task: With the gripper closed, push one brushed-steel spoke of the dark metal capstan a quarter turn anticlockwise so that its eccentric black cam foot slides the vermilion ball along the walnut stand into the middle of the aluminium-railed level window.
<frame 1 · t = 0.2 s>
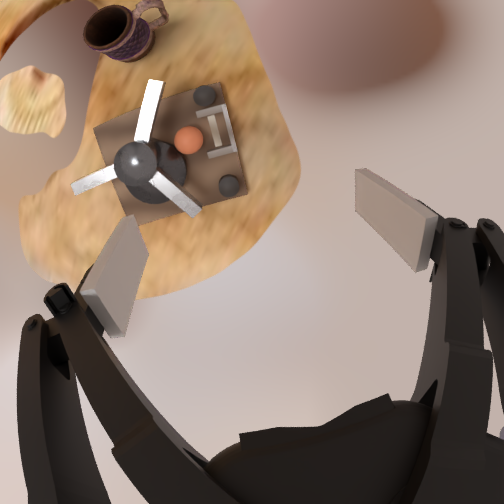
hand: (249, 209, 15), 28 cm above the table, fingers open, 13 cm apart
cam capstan: (128, 162, 32), point 6 cm above the table, hinge at 0.0°
mug: (143, 38, 27), on the table
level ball: (188, 140, 34), point 4 cm above the table, slide at 0.0 cm
walnut stand: (170, 156, 38), on the table
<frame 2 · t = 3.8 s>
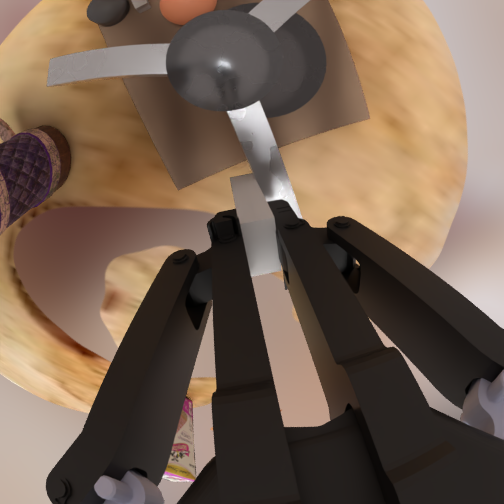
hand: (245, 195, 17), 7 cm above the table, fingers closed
candy bar box: (166, 389, 41), on the table
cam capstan: (235, 97, 15), point 6 cm above the table, hinge at 0.2°, touching gripper
mug: (39, 147, 18), on the table
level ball: (188, 1, 12), point 4 cm above the table, slide at 0.0 cm
walnut stand: (231, 42, 17), on the table
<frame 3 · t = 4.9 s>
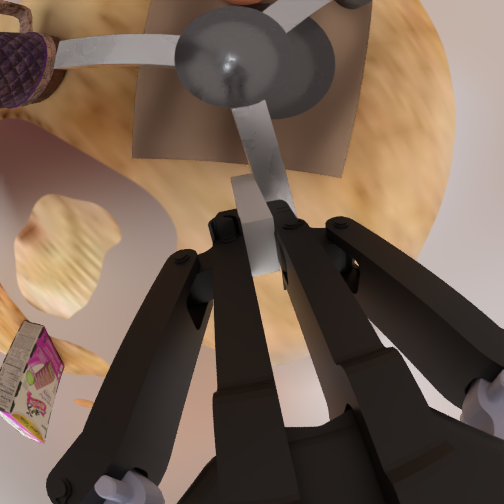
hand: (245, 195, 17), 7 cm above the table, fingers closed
candy bar box: (45, 343, 33), on the table
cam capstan: (241, 95, 15), point 6 cm above the table, hinge at 24.9°, touching gripper
mug: (43, 55, 14), on the table
walnut stand: (256, 49, 17), on the table
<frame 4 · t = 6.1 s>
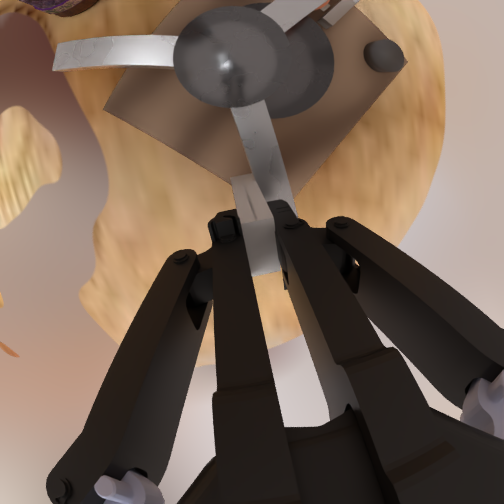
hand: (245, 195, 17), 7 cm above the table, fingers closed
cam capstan: (240, 95, 15), point 6 cm above the table, hinge at 54.3°, touching gripper
walnut stand: (264, 64, 18), on the table
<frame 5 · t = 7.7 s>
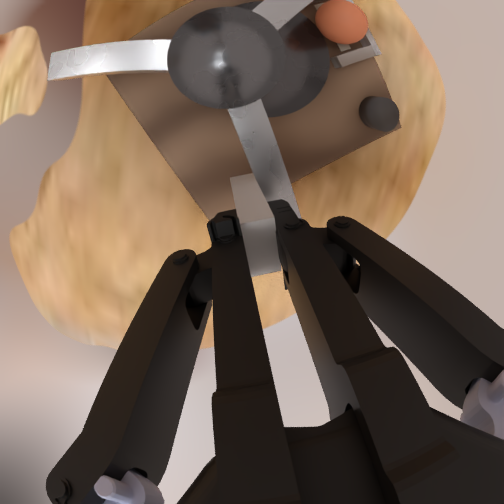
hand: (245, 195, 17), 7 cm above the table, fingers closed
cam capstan: (236, 96, 15), point 6 cm above the table, hinge at 80.7°, touching gripper
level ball: (341, 21, 13), point 4 cm above the table, slide at 3.5 cm
walnut stand: (261, 79, 19), on the table
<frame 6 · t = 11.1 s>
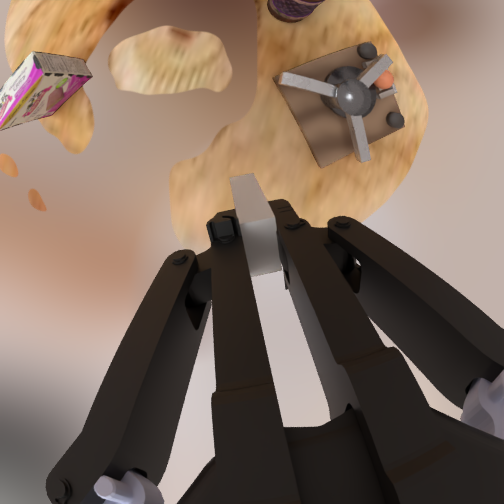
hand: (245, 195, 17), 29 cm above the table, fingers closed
candy bar box: (67, 87, 32), on the table
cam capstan: (346, 109, 36), point 6 cm above the table, hinge at 80.7°
mug: (294, 4, 30), on the table
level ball: (382, 78, 35), point 4 cm above the table, slide at 3.5 cm
walnut stand: (344, 100, 40), on the table
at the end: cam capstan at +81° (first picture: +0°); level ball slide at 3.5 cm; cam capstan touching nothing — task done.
